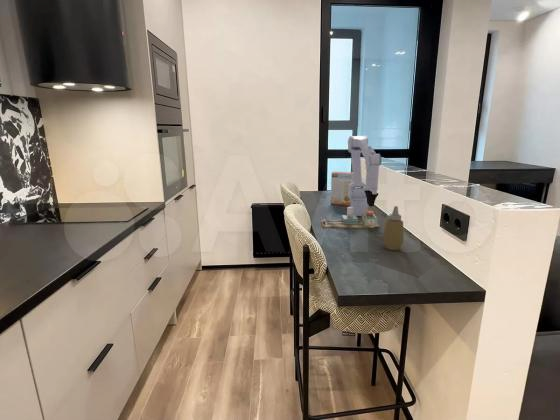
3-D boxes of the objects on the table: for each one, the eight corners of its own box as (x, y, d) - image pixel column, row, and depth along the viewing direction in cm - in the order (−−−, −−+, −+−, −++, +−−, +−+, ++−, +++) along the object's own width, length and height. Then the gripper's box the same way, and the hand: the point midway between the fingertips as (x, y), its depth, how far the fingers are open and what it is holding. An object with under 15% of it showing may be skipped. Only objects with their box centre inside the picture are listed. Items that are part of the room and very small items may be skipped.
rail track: (375, 222, 170) (375, 217, 170) (379, 227, 162) (379, 222, 161) (321, 222, 172) (321, 217, 171) (322, 227, 163) (322, 222, 163)
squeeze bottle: (388, 243, 141) (391, 203, 136) (406, 248, 135) (410, 206, 131) (378, 248, 135) (381, 206, 131) (397, 253, 130) (401, 210, 125)
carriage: (355, 220, 170) (356, 205, 168) (357, 224, 163) (358, 209, 161) (341, 220, 170) (342, 205, 168) (343, 224, 163) (344, 209, 161)
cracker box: (354, 204, 208) (355, 172, 203) (350, 206, 203) (352, 173, 198) (334, 202, 215) (335, 170, 210) (330, 204, 210) (331, 172, 205)
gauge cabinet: (373, 222, 170) (373, 213, 169) (377, 227, 162) (377, 218, 161) (361, 222, 170) (362, 213, 169) (364, 227, 162) (365, 218, 161)
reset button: (372, 218, 168) (373, 210, 167) (374, 221, 163) (375, 213, 162) (364, 218, 168) (364, 210, 167) (365, 221, 164) (366, 213, 163)
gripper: (361, 176, 167) (359, 201, 171) (366, 181, 153) (365, 208, 157) (374, 176, 167) (373, 202, 171) (381, 181, 153) (379, 209, 157)
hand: (370, 205), depth 164 cm, fingers open, 3 cm apart
